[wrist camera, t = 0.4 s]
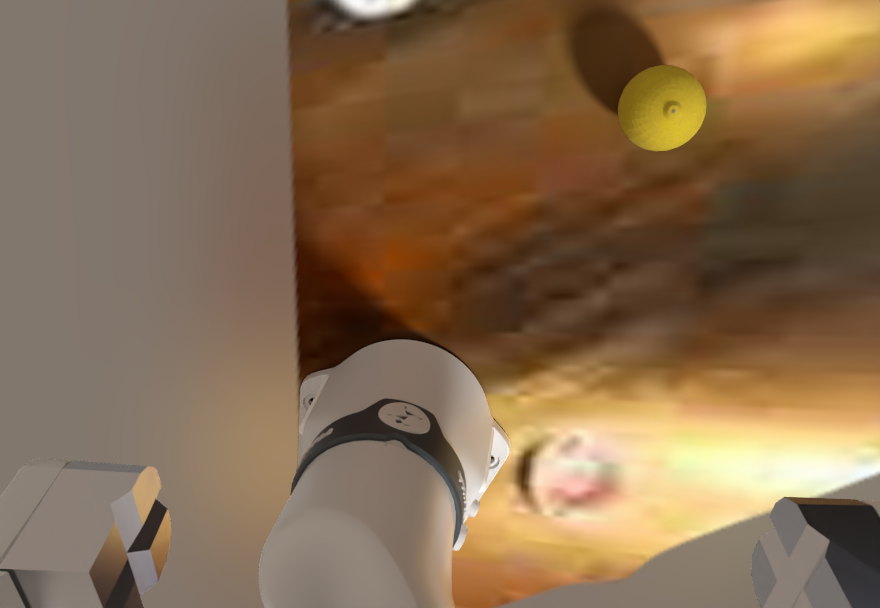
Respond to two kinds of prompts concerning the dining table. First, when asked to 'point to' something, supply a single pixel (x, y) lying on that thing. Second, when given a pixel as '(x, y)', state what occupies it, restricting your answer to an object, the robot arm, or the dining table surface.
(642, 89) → the lemon
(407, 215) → the dining table surface
